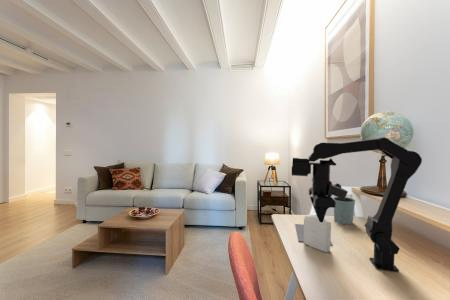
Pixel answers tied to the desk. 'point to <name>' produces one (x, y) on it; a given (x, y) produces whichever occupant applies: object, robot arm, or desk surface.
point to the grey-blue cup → (344, 210)
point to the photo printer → (317, 233)
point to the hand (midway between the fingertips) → (319, 219)
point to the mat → (302, 233)
